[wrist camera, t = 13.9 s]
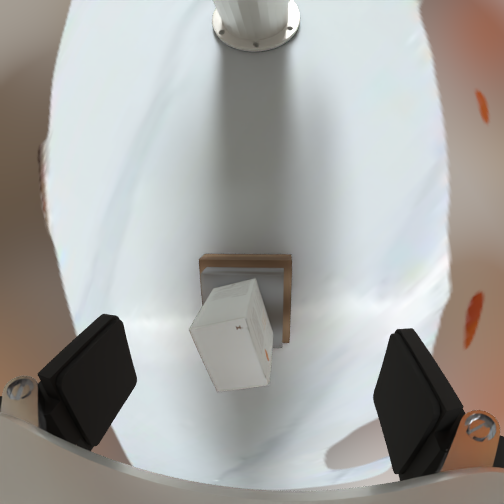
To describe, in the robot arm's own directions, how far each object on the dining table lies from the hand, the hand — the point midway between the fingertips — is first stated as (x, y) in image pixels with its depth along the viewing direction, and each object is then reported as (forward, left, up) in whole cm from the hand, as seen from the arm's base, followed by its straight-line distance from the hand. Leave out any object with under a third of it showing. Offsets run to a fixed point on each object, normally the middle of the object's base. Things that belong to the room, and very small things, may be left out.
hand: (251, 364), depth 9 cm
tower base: (+10, -4, -31) cm, 32 cm away
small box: (+10, -4, -25) cm, 27 cm away
